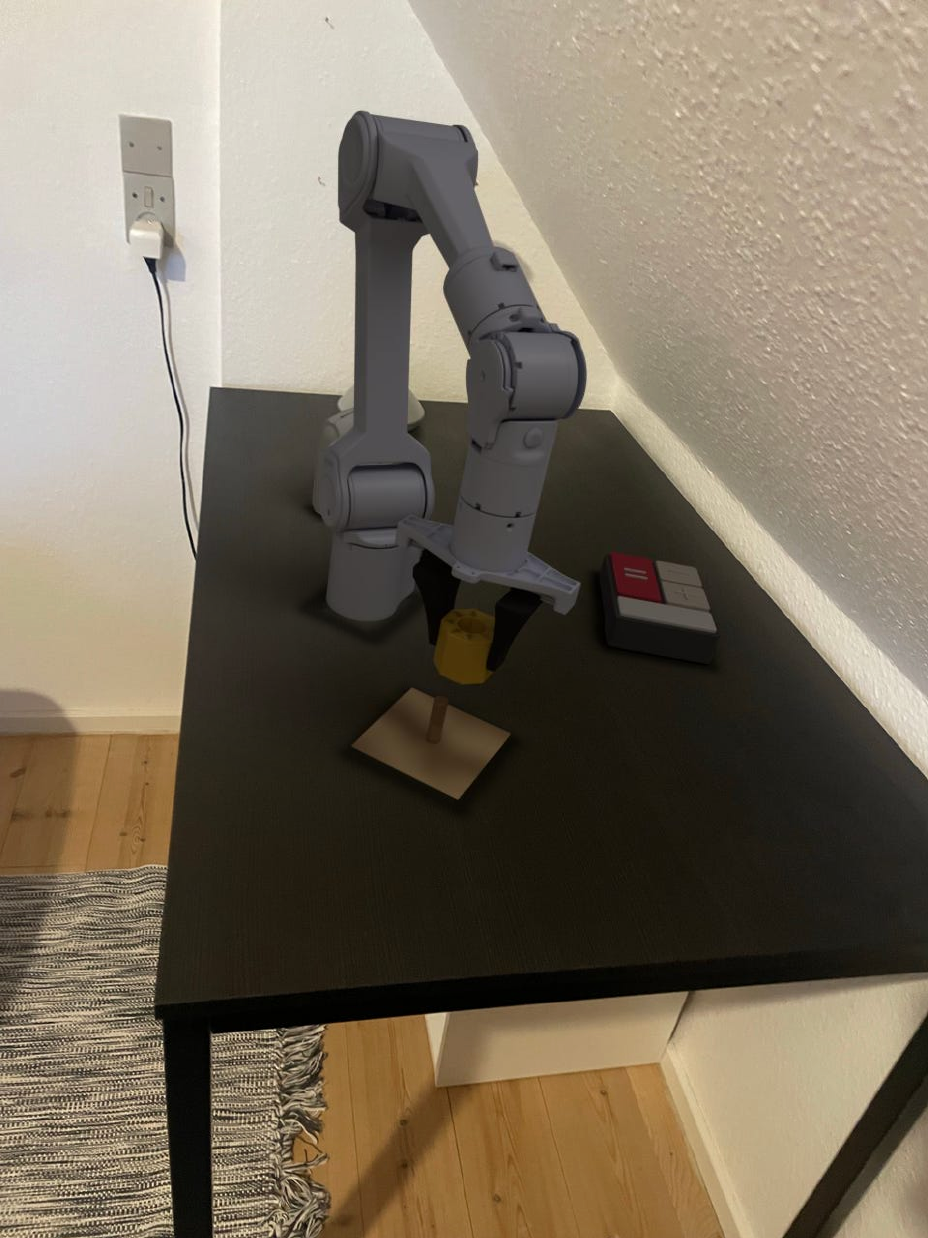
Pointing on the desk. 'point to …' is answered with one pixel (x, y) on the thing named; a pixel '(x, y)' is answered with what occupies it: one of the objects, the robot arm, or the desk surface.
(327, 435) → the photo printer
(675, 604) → the calculator
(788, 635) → the desk surface
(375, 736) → the stand
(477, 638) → the sleeve
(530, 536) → the robot arm
